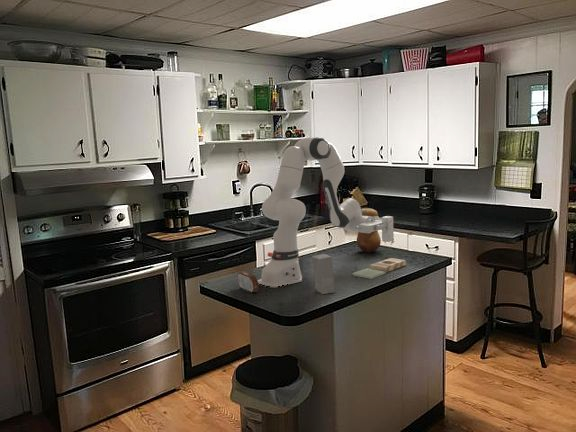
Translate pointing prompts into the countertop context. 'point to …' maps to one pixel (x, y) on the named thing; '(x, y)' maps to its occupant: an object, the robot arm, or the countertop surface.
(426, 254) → the countertop surface
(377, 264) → the plane body
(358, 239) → the butternut squash
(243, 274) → the brown white rounded block
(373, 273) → the green mat
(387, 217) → the white rectangular block
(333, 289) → the skincare box
